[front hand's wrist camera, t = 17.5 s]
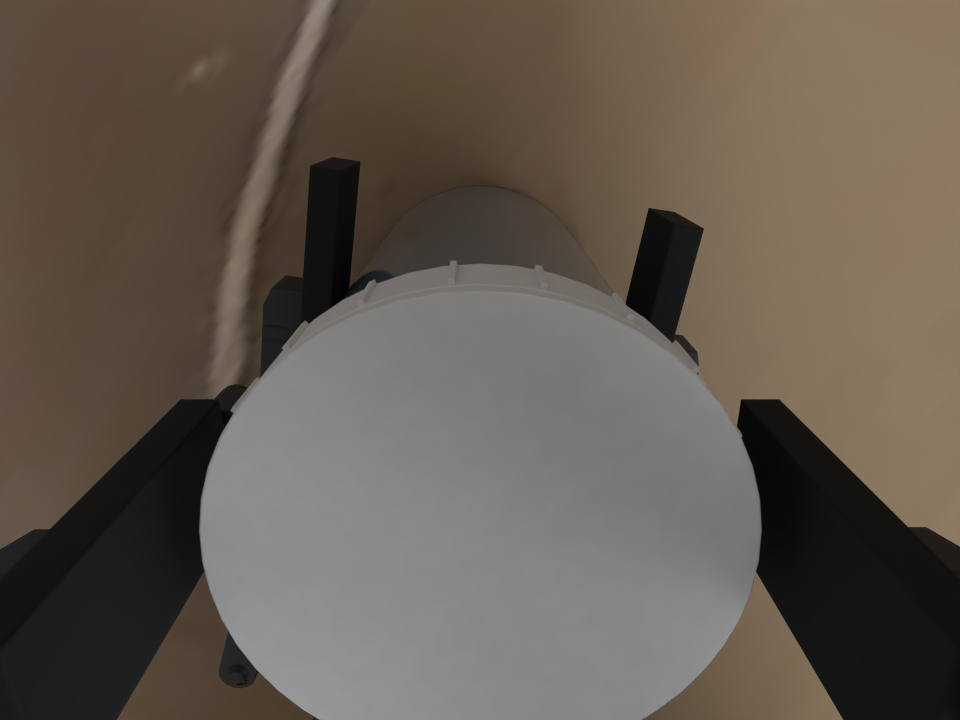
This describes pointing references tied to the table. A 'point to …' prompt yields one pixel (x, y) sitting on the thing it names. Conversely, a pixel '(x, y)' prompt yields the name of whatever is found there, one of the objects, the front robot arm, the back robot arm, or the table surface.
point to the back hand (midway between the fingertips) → (507, 191)
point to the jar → (480, 238)
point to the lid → (480, 506)
